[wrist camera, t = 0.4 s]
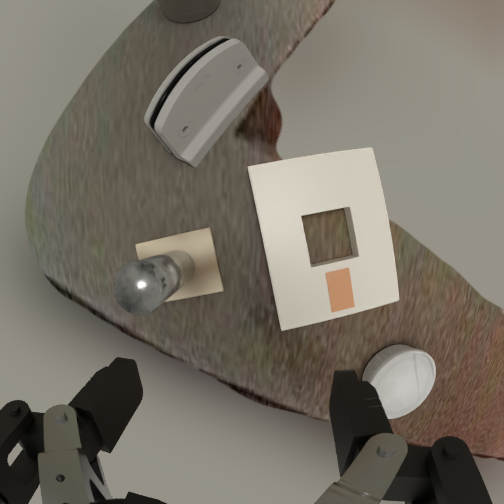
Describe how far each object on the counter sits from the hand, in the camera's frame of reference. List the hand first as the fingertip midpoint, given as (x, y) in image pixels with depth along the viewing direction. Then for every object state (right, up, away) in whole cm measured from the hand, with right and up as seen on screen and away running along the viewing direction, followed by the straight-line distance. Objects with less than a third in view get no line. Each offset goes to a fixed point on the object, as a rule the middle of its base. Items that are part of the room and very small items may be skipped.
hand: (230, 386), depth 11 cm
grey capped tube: (-8, +3, +26) cm, 27 cm away
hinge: (-5, +25, +25) cm, 36 cm away
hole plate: (+10, +7, +26) cm, 29 cm away
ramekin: (+22, -13, +28) cm, 38 cm away
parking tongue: (-8, +3, +27) cm, 28 cm away
